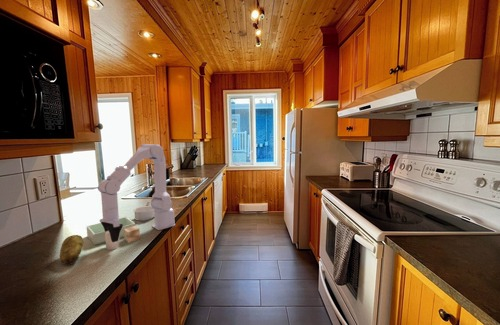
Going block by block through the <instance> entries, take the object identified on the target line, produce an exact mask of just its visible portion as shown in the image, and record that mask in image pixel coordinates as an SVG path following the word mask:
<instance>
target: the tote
mask: <svg viewBox="0 0 500 325" xmlns="http://www.w3.org/2000/svg"><path fill="white" fill-rule="evenodd" d="M119 224H122V225H123V227H122V229H121V231H120V234H119V239H121V238H124V229H126V228H130V227H133V226H136V223H135V222H134V221H133V220H131V219H130V218H128V217H127V216H125V217H119ZM86 235H87V236H86V237H88V239H89V240H90V242H91V243H92V244H93V246H97V245H101V244H105V243H106V239H105V230H104V227H103V225H102V224H101V222H99V223H94V224H90V225H86ZM120 237H121V238H120Z"/></svg>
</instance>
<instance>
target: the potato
mask: <svg viewBox="0 0 500 325" xmlns="http://www.w3.org/2000/svg"><path fill="white" fill-rule="evenodd" d="M83 247H84V241H83V237H82V236H81V235H79V234H74V235H71V236H67V237H66V238H65V239H64V240H63V242H62V244H61V247H60V251H59V262H61V264H62V265H68V266H69V265H72V264H74V263H76V261H78V259H79V257H80V255H81V253H82V249H83Z"/></svg>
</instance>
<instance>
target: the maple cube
mask: <svg viewBox="0 0 500 325" xmlns="http://www.w3.org/2000/svg"><path fill="white" fill-rule="evenodd" d="M140 234H141V233H140V228H139V227H138V226H136V225H135V226H133V227H130V228H126V229H124V237H123V238H124V240H125V241H126V242H127V243H128V242H129V243H132V242H134V240H135V241H139V240H140V239H141V235H140ZM131 241H132V242H131Z"/></svg>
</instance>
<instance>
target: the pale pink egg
mask: <svg viewBox="0 0 500 325" xmlns="http://www.w3.org/2000/svg"><path fill="white" fill-rule="evenodd" d="M105 239H106V242H105V250H107V251H111V250H116V249H118V248H120V246H121V245H120V242H121V241H120V238H119V239H118V241H116V242H112V240H111V236H110V233H109V231H106V232H105Z"/></svg>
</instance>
